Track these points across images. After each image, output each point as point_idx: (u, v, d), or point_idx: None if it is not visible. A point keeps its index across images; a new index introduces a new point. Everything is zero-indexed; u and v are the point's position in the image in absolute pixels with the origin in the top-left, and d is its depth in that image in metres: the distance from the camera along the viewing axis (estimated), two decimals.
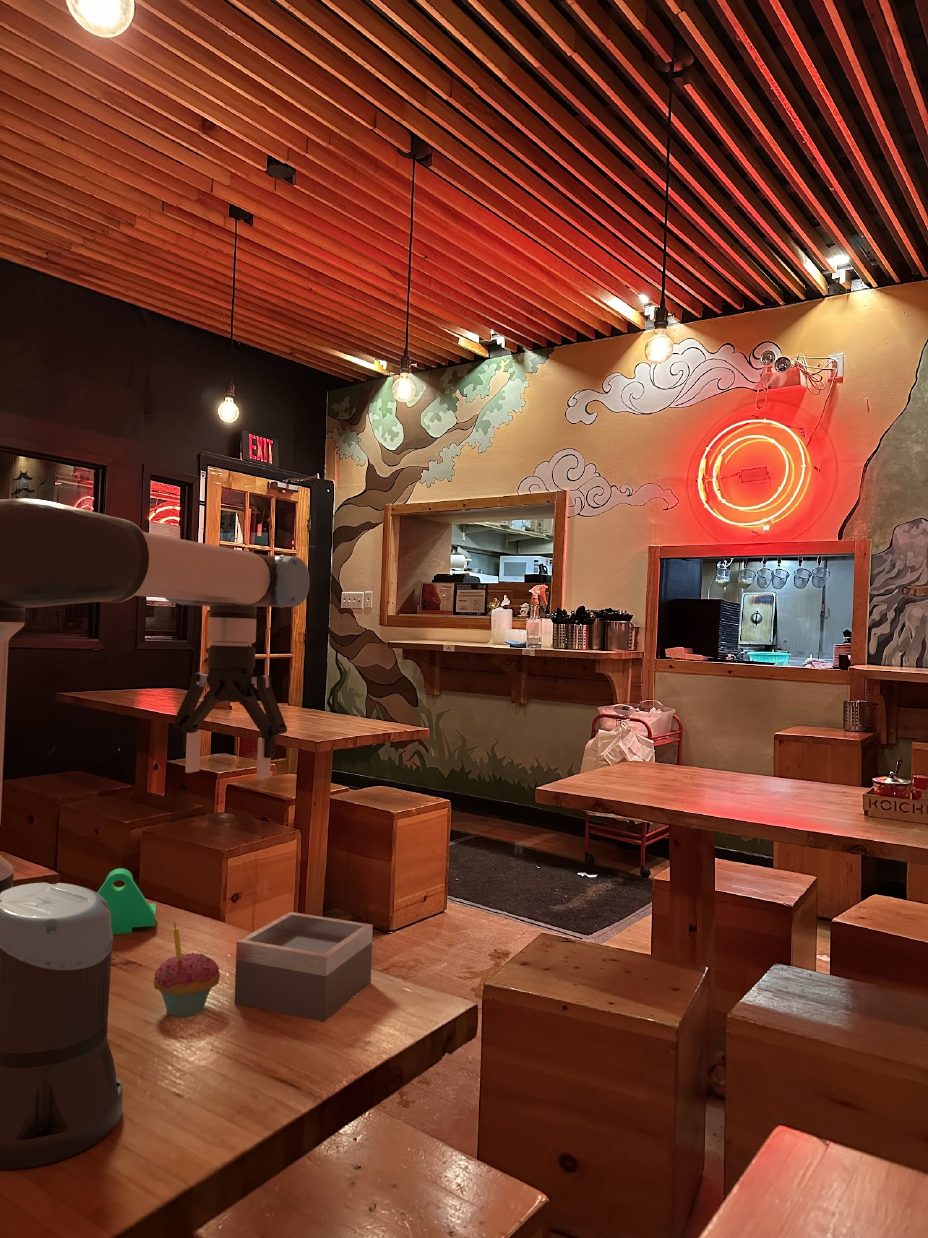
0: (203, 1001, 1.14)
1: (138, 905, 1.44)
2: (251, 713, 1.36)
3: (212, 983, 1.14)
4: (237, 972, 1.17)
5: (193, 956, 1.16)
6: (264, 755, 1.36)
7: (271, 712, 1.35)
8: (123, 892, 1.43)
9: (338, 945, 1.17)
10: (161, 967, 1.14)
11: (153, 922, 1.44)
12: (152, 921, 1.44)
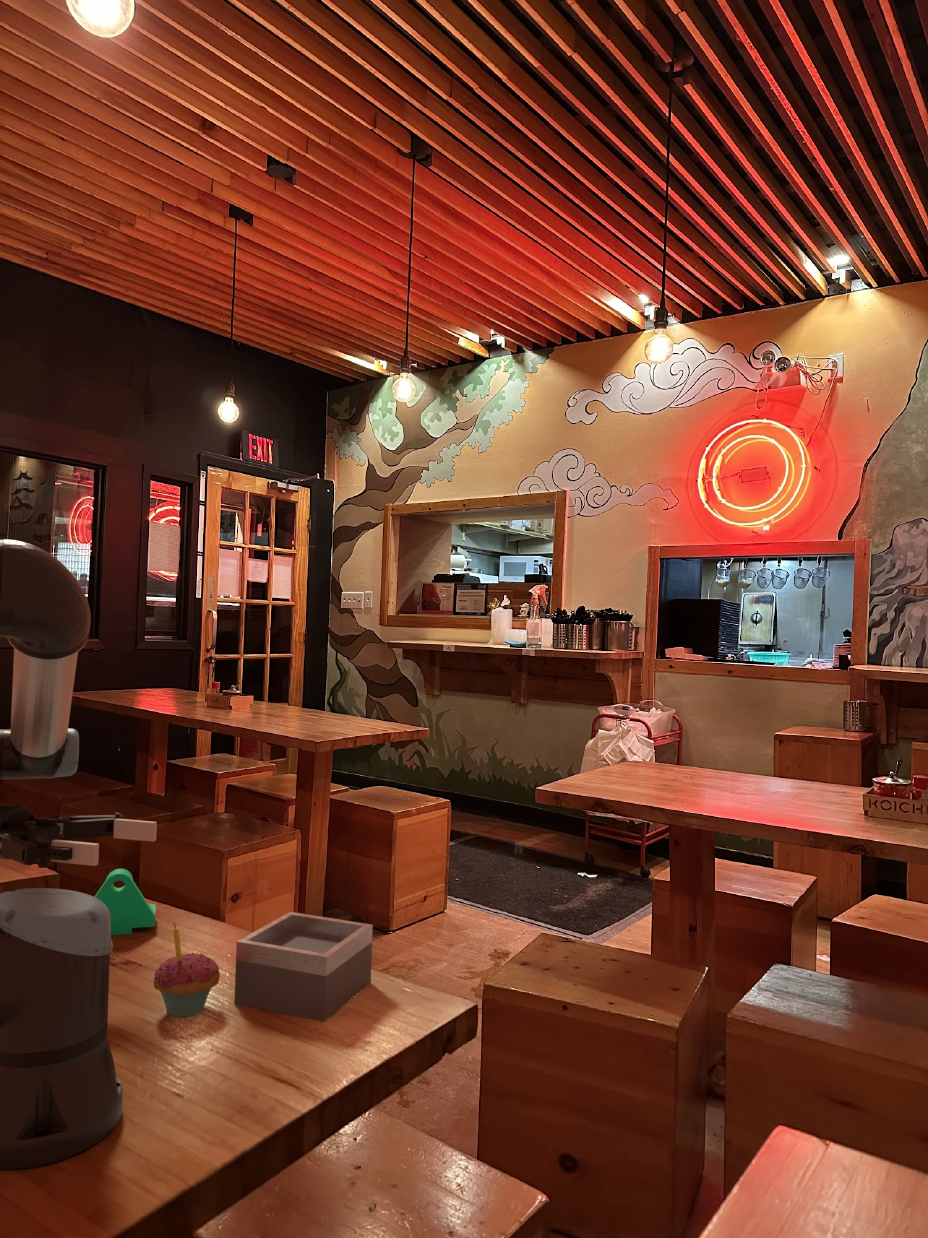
0: (203, 1001, 1.14)
1: (138, 905, 1.43)
2: (84, 820, 1.25)
3: (212, 983, 1.14)
4: (237, 972, 1.17)
5: (193, 956, 1.16)
6: None
7: (98, 815, 1.28)
8: (123, 892, 1.43)
9: (338, 945, 1.17)
10: (161, 967, 1.14)
11: (153, 923, 1.44)
12: (152, 921, 1.44)
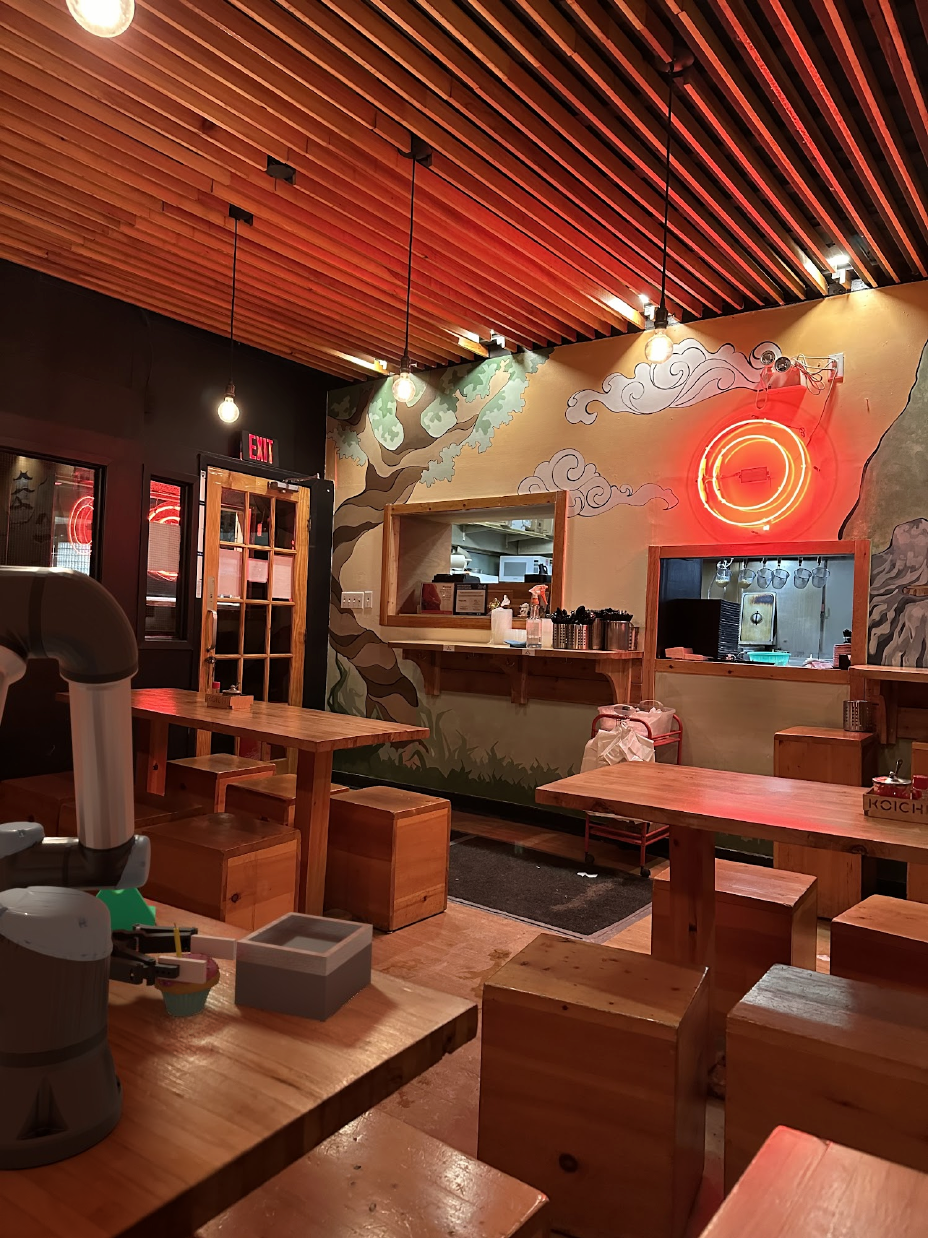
0: (203, 1001, 1.14)
1: (138, 908, 1.42)
2: (160, 935, 1.20)
3: (213, 983, 1.14)
4: (237, 972, 1.17)
5: (193, 956, 1.16)
6: None
7: (174, 927, 1.23)
8: (123, 895, 1.42)
9: (338, 945, 1.17)
10: None
11: (153, 925, 1.43)
12: (152, 924, 1.43)
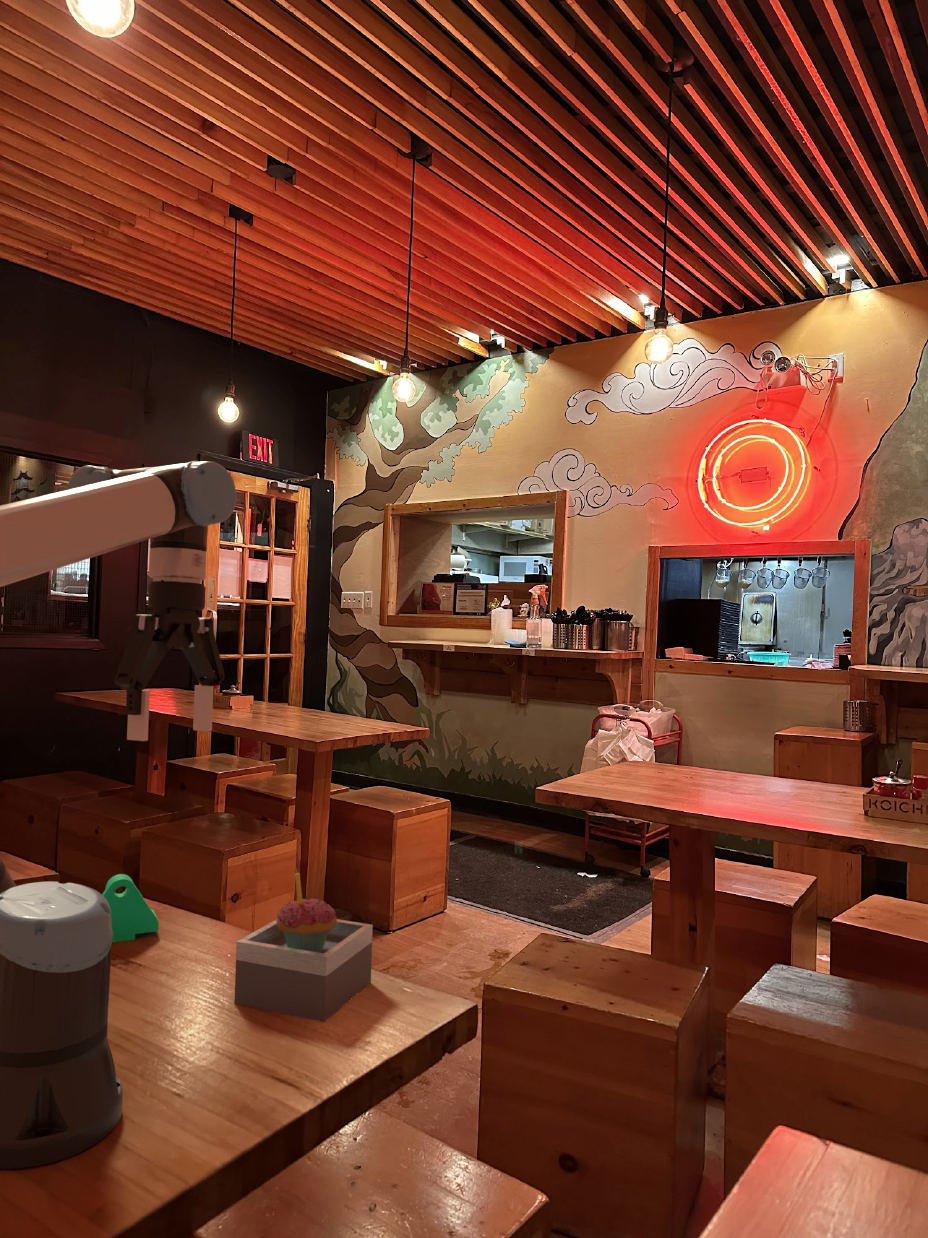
0: (323, 942, 1.21)
1: (141, 911, 1.41)
2: None
3: (333, 925, 1.20)
4: (237, 972, 1.17)
5: (312, 900, 1.22)
6: None
7: None
8: (126, 898, 1.40)
9: (338, 945, 1.17)
10: (284, 910, 1.20)
11: (157, 927, 1.42)
12: (155, 926, 1.42)
